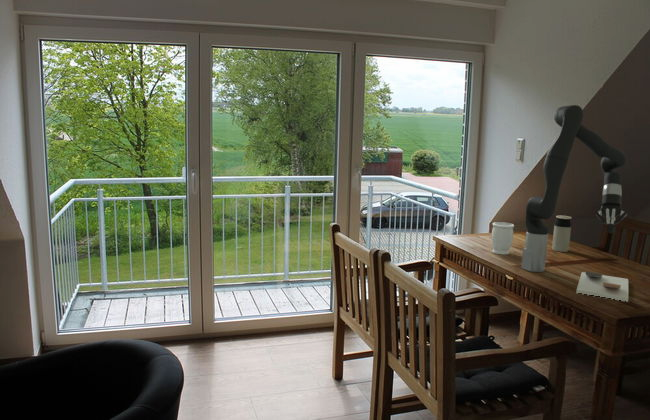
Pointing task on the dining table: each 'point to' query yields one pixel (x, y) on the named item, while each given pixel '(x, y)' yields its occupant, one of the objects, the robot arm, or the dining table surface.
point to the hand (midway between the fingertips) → (610, 232)
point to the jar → (502, 237)
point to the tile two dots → (611, 285)
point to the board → (603, 287)
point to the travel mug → (561, 234)
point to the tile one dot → (594, 274)
